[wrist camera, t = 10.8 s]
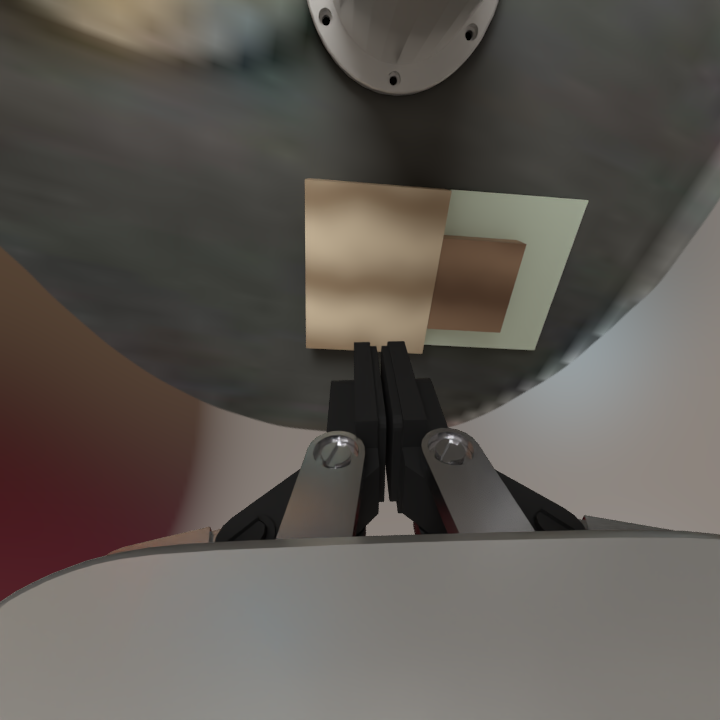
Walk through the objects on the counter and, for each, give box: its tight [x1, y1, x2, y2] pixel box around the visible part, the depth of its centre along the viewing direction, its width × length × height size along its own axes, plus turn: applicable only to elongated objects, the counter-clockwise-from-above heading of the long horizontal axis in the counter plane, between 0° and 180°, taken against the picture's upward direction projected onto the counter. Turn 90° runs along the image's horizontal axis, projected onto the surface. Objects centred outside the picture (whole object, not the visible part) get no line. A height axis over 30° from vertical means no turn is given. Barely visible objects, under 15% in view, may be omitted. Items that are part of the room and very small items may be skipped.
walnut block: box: [427, 235, 527, 333], centre depth 31 cm, size 8×7×2 cm
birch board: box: [305, 178, 452, 354], centre depth 30 cm, size 14×11×2 cm
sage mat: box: [424, 189, 589, 350], centre depth 32 cm, size 14×12×1 cm
